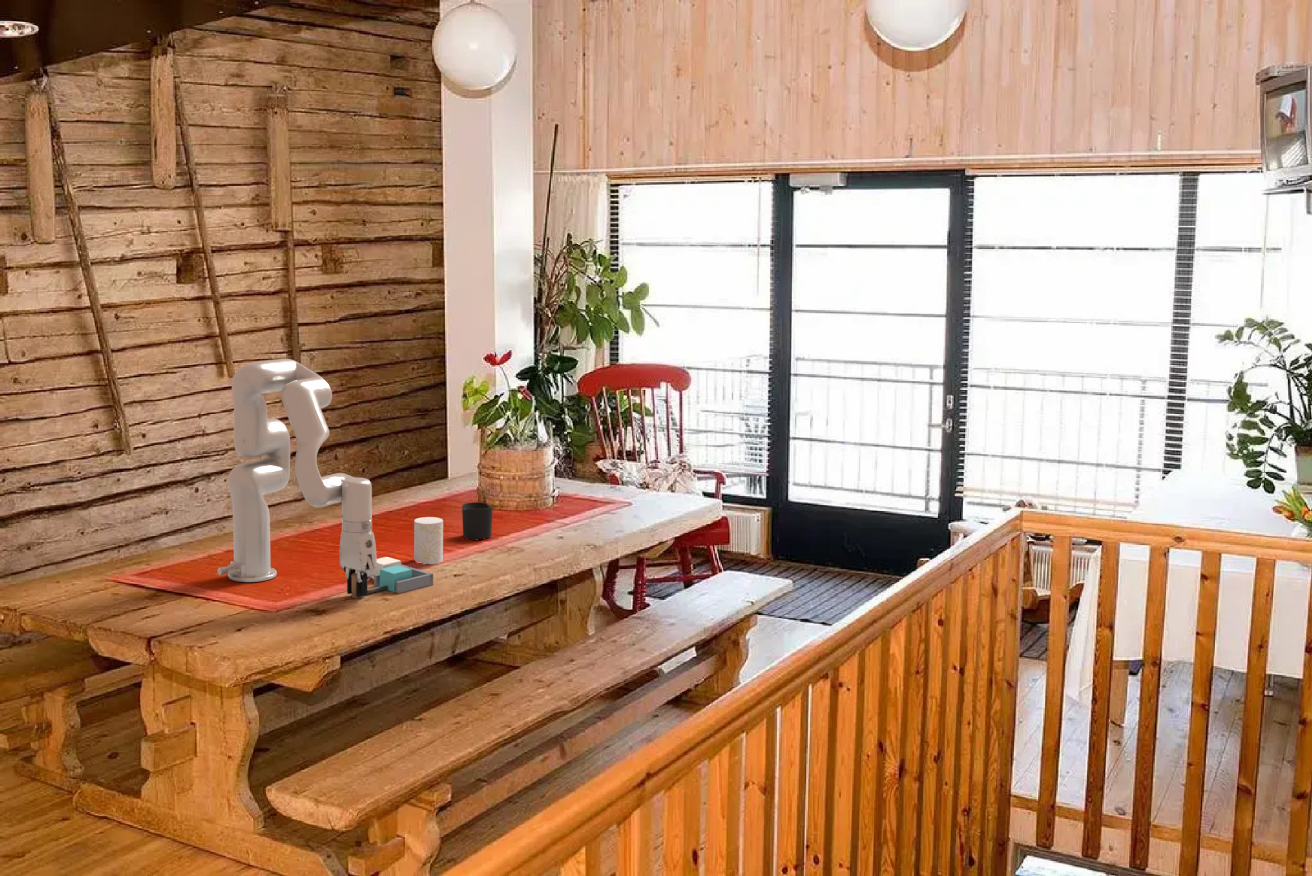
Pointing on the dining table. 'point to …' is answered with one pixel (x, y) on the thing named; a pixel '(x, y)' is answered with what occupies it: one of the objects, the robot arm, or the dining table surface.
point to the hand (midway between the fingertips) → (357, 593)
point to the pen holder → (477, 520)
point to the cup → (428, 540)
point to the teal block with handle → (385, 579)
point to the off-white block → (385, 564)
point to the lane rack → (410, 580)
